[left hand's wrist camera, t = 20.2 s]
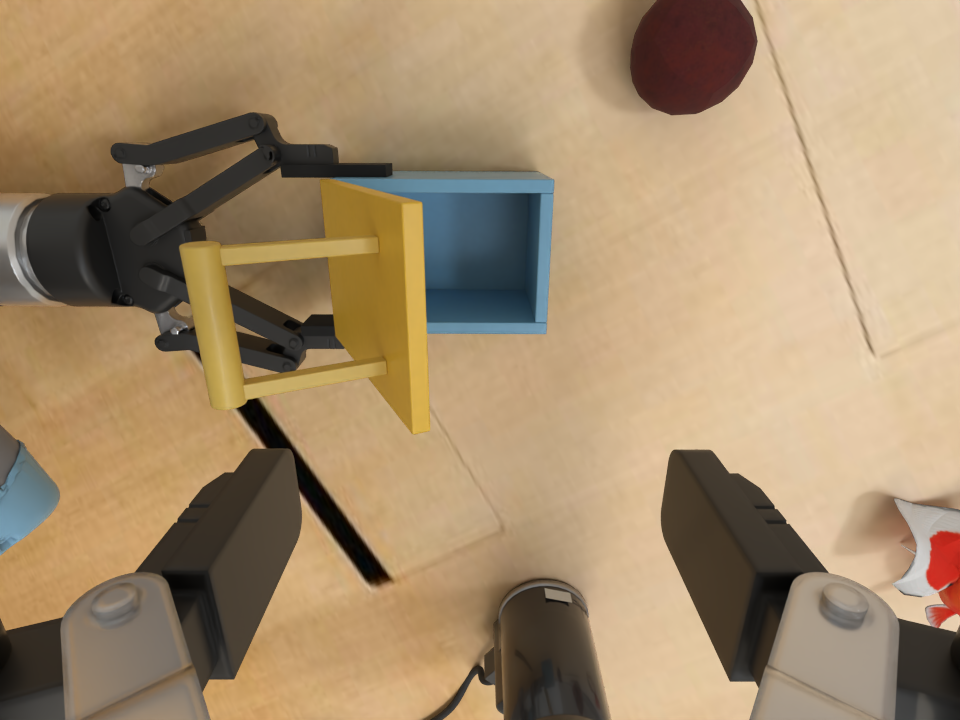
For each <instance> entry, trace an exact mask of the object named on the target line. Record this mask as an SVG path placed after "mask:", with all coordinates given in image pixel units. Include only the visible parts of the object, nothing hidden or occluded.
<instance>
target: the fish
mask: <svg viewBox="0 0 960 720" xmlns="http://www.w3.org/2000/svg"><path fill="white" fill-rule="evenodd" d="M894 501H895V503H896V505H897V508H898V509H899V511H900V512H901V514H902V516H903V517H904V519H905V520H906V522H907V523H908V525H909V528H910V530H911V532H912V534H913V537H914V539H915V542H916V544H917V547H916V552H914V551H912V550H910V549H909V548H907V547H905V546H903V545H901V546H903V547H904V548H906V549H907V550H909V551H910V552H911V553H913V554H914V555H915V558H914V560H913V562H912V563H911V565H910V567H909V569H908V570H907V572H906V573H905V574H904V576H903V577H902V578H901V579H900V580H898V581H896V582H895V583H893V584H892V585H894V586H895V587H896V588H897V589H898V590H899V591H900V592H901V593H903V594H904V595H910V596H917V597H924V596H929V595H932V594H934V593H937V592H938V593H939V596H940V598H941V600H942V602H943V603H944V604H945V605H931V606H927V607H926V608H925V611H926V616H927V620H928V621H929V623H930V625H931V626H932V627H936V628H939V627H940V625H941V623H943V622H944V621H945V620H946V619H947V618H949V617H951V616H953V615H955V614H958V615H959V616H960V510H958V509H953V508H945V507H937V506H929V505H921V504H913V503H910V502H907V501H904V500H901V499H896V498H895V499H894Z"/></svg>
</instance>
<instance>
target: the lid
mask: <svg viewBox="0 0 960 720" xmlns="http://www.w3.org/2000/svg"><path fill="white" fill-rule="evenodd" d="M320 187H321V197H322V207H323V217H324V227H325V237H326V238H317V239H303V240H289V241H275V242H260V243H246V244H232V245H221V244H220V243H219V242H215V241H197V242H189V243H184V244H182V245H180V246H179V250H180V255H181V260H182V265H183V270H184V275H185V280H186V285H187V290H188V295H189V300H190V305H191V310H192V315H193V320H194V325H195V330H196V335H197V340H198V345H199V350H200V355H201V359H202V364H203V369H204V374H205V379H206V384H207V389H208V394H209V399H210V404H211V406H212V408H214V409H217V410H230V409H234V408H238V407H240V406H242V405H244V404H245V403H246V402H247V400H248V399H253V398H258V397H264V396H269V395H275V394H280V393H286V392H291V391H297V390H302V389H308V388H313V387H319V386H324V385H330V384H335V383H340V382H346V381H351V380H357V379H362V378H369V380H370V381H371V382H372V383H373V385H374V386H375V387H376V388H377V390H378V391H379V392H380V394H381V395H382V396H383V397H384V399H385V400H386V401H387V402H388V404H389V405H390V406H391V408H392V409H393V410H394V411H395V413H396V414H397V415H398V416H399V418H400V419H401V420H402V422H403V423H404V424H405V425H406V427H407V428H408V429H409V430H410V432H411V433H412V434H418V433H423V432H427V431H430V409H429V380H428V351H427V321H426V292H425V263H424V234H423V204H422V202H420V201H417V200H413V199H409V198H405V197H401V196H397V195H393V194H389V193H385V192H381V191H378V190H374V189H370V188H366V187H362V186H358V185H354V184H350V183H346V182H342V181H339V180H335V179H321V180H320ZM323 257H328V267H329V277H330V287H331V297H332V306H333V316H334V326H335V336H336V337H337V339H338V340H339V341H340V343H341V344H342V345H343V346H344V348H345V349H346V350H347V351H348V353H349V354H350V355H351V357H352V358H353V359H354V360H355V361H350V362H344V363H338V364H332V365H326V366H320V367H314V368H308V369H302V370H296V371H290V372H284V373H278V374H272V375H266V376H260V377H254V378H248V379H244V375H243V369H242V363H241V357H240V351H239V345H238V340H237V334H236V328H235V322H234V316H233V311H232V305H231V299H230V293H229V287H228V281H227V276H226V270H225V266H229V265H241V264H253V263H265V262H276V261H288V260H300V259H312V258H323Z"/></svg>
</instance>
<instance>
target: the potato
mask: <svg viewBox="0 0 960 720" xmlns="http://www.w3.org/2000/svg"><path fill="white" fill-rule="evenodd" d="M756 46H757V36H756V31H755V27H754V22H753V17H752V16H751V14H750V13H749V12H748V10H747V9H746V7H745V6H744V4H743V3H742V1H741V0H657V1H656V2H655V3H654V5H653V6H652V7H651V8H650V9H649V11H648V12H647V13H646V14H645V15H644V16H643V18H642V20H641V22H640V24H639V26H638V29H637V31H636V33H635V36H634V40H633V45H632V50H631V64H630V69H631V75H632V81H633V84H634V86H635V88H636V90H637V92H638V94H639V96H640V97H641V98H642V99H643V100H644V101H645V102H646V103H647V104H648V105H649V106H651V107H652V108H653V109H656V110H659V111H662V112H664V113H667V114H670V115H684V114H697V113H700V112H702V111H704V110H706V109H708V108H710V107H712V106H714V105H716V104H718V103H720V102H722V101H723V100H724V99H725V98H727V97H728V96H729V95H730V94H731V93H732V92H733V91H734V90H735V89H737V88H738V87H739V85H740V83H741V82H742V80H743V78H744V77H745V75H746V73H747V72H748V70H749V68H750V67H751V65H752V63H753V60H754V55H755V50H756Z"/></svg>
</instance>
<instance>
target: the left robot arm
mask: <svg viewBox="0 0 960 720" xmlns="http://www.w3.org/2000/svg"><path fill="white" fill-rule="evenodd" d="M301 523H302V510H301V502H300V496H299V489H298V482H297V475H296V468H295V462H294V456H293V453H292V451H291V450H290V449H252V450H251V451H250V452H249V453H248V454H247V456H246V457H245V458H244V460H243V461H242V462H241V464H240V465H239V466H238V468H237V469H236V470H235V472H234V473H223V474H222V475H220V476H219V477H218V478H216V479H215V480H213V481H212V482H210V483H209V484H207V485H206V486H204V487H203V488H202V489H201V490H200V492H199V493H198V494H197V495H196V497H195V498H194V499H193V500H192V502H191V503H190V504H189V508H186V509H185V510H184V512H183V513H182V514H181V515H180V517H179V518H178V521H177V523H174V524H173V525H172V527H171V528H170V529H169V530H168V532H167V533H166V534H165V535H164V537H163V538H162V539H161V540H160V542H159V543H158V544H157V545H156V546H155V548H154V549H153V550H152V551H151V553H150V554H149V555H148V556H147V558H146V559H145V560H144V561H143V563H142V564H141V565H140V566H139V568H138V569H137V570H136V571H135V573H130V574H125V575H121V576H118V577H115V578H112V579H110V580H108V581H105V582H103V583H101V584H99V585H97V586H96V587H94V588H92V589H91V590H89V591H88V592H86V593H85V594H84V595H82V596H81V597H80V598H79V599H77V600H76V601H75V602H74V603H73V604H72V605H71V607H70V608H69V609H68V610H67V612H66V613H65V615H64V617H62V618H59V619H54V620H50V621H46V622H42V623H37V624H33V625H29V626H24V627H20V628H16V629H12V630H7V631H5V628H4V626H3V624H2V621H1V619H0V720H211V719H210V716H209V713H208V710H207V706H206V703H205V700H204V696H203V693H202V692H203V690H204V688H205V686H206V684H207V682H208V680H209V679H234V678H235V676H236V674H237V672H238V670H239V667H240V665H241V663H242V661H243V659H244V656H245V654H246V652H247V650H248V648H249V646H250V643H251V641H252V639H253V637H254V635H255V632H256V630H257V628H258V626H259V624H260V622H261V619H262V617H263V615H264V613H265V611H266V608H267V606H268V604H269V602H270V600H271V598H272V595H273V593H274V591H275V589H276V587H277V584H278V582H279V580H280V578H281V576H282V573H283V571H284V569H285V567H286V565H287V563H288V560H289V558H290V556H291V554H292V552H293V549H294V547H295V545H296V543H297V541H298V538H299V534H300V530H301ZM661 526H662V533H663V537H664V540H665V542H666V545H667V547H668V549H669V551H670V553H671V555H672V557H673V560H674V562H675V564H676V566H677V568H678V570H679V573H680V575H681V577H682V579H683V581H684V583H685V586H686V588H687V590H688V592H689V594H690V596H691V598H692V601H693V603H694V605H695V607H696V609H697V611H698V614H699V616H700V618H701V620H702V622H703V624H704V627H705V629H706V631H707V633H708V635H709V637H710V639H711V642H712V644H713V646H714V648H715V650H716V652H717V655H718V657H719V659H720V661H721V663H722V665H723V668H724V670H725V672H726V674H727V676H728V678H729V680H730V681H755V682H756V684H757V686H758V688H759V690H758V693H757V696H756V700H755V703H754V706H753V710H752V713H751V716H750V719H749V720H960V626H959V628H958V630H957V632H953V631H949V630H945V629H940V628H936V627H932V626H927V625H923V624H919V623H915V622H910V621H906V620H902V619H899V618H897V617H896V615H895V613H894V612H893V610H892V609H891V608H890V607H889V605H888V604H887V603H886V602H885V601H884V600H883V599H881V598H880V597H879V596H878V595H876V594H875V593H874V592H872V591H871V590H869V589H868V588H866V587H864V586H863V585H861V584H859V583H857V582H855V581H852V580H850V579H848V578H845V577H842V576H839V575H835V574H830V573H828V571H827V570H826V569H825V568H824V566H823V565H822V564H821V563H820V561H819V560H818V559H817V558H816V556H815V555H814V554H813V553H812V552H811V550H810V549H809V548H808V547H807V545H806V544H805V543H804V542H803V540H802V539H801V538H800V537H799V535H798V534H797V533H796V532H795V531H794V529H793V528H792V527H791V526H790V524H787V523H786V519H785V518H784V517H783V516H782V514H781V513H780V512H779V511H778V510H777V509H775V508H774V505H773V503H772V502H771V501H770V500H769V498H768V497H767V496H766V495H765V493H764V492H763V491H762V490H761V489H760V488H759V487H758V486H756V485H755V484H753V483H752V482H750V481H749V480H747V479H746V478H744V477H743V476H741V475H740V474H729V472H728V471H727V470H726V468H725V467H724V466H723V464H722V463H721V462H720V460H719V459H718V458H717V456H716V455H715V454H714V453H713V451H711V450H673V451H672V452H671V454H670V457H669V461H668V468H667V475H666V481H665V488H664V495H663V501H662V508H661ZM484 666H485V673H484V669H483V668H482V667H481V666H476V667H474V668H473V669H472V670H471V671H470V673H469V675H468V676H467V678H466V680H465V681H464V682H463V684H462V686H461V688H460V689H459V691H458V693H457V695H456V696H455V698H454V699H453V701H452V702H451V703H450V705H449V706H448V707H447V708H446V709H444V710H443V711H442V712H441V713H439V714H438V715H437V716H435V717H434V718H432V719H431V720H443V719H444V718H445V717H447V716H448V715H449V714H450V713H451V712H452V711H453V710H454V709H455V708H456V706H457V705H458V704H459V702H460V701H461V699H462V697H463V695H464V693H465V691H466V690H467V688H468V686H469V684H470V682H471V680H472V679H473V677H474V676H475V675H476V674H478V677H479V680H480V682H481V683H482V684H484V685H493V684H494V685H495V692H496V708H497V710H498V711H499V712H500V713H502V714H504V720H611V716H610V711H609V707H608V702H607V698H606V693H605V689H604V685H603V680H602V676H601V671H600V667H599V662H598V658H597V653H596V649H595V645H594V640H593V636H592V631H591V627H590V622H589V615H588V609H587V605H586V602H585V600H584V598H583V597H582V595H581V594H580V593H579V592H578V591H577V590H576V589H574V588H573V587H571V586H569V585H567V584H565V583H562V582H559V581H554V580H535V581H531V582H527V583H524V584H522V585H520V586H518V587H516V588H514V589H513V590H512V591H510V592H509V593H508V594H507V595H506V596H505V598H504V599H503V601H502V603H501V605H500V608H499V619H498V620H497V621H496V622H495V623H494V648H492V649H491V650H490V651H489V652H488V653H487V654H485V656H484Z"/></svg>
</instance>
